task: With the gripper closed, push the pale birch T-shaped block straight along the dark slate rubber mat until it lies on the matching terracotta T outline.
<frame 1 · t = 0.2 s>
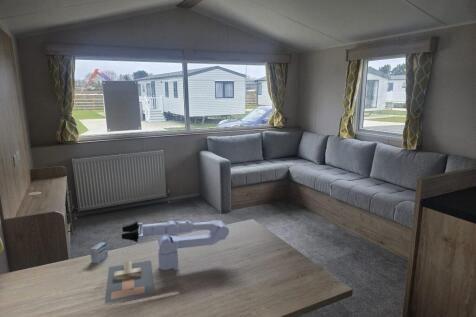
hand: (122, 232, 145), 21 cm above the table, fingers open, 7 cm apart
t block: (128, 272, 148), point 1 cm above the table, touching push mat
medicine box: (100, 261, 161), on the table
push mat: (130, 281, 143), on the table
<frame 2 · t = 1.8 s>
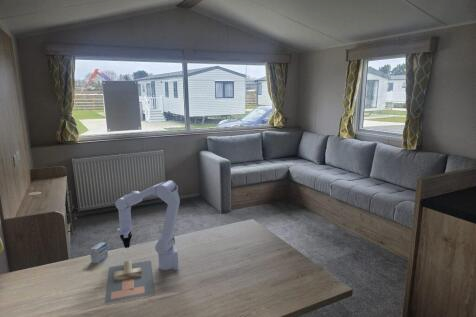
hand: (127, 245, 158), 9 cm above the table, fingers open, 5 cm apart
nothing on the table moved.
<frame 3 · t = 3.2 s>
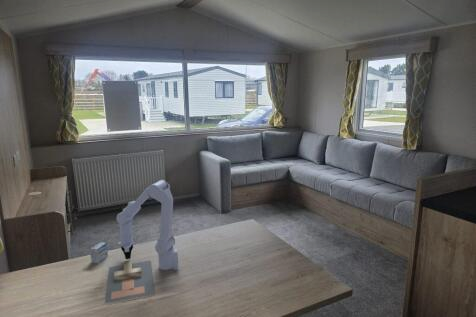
hand: (128, 258, 160), 2 cm above the table, fingers closed
nothing on the table moved.
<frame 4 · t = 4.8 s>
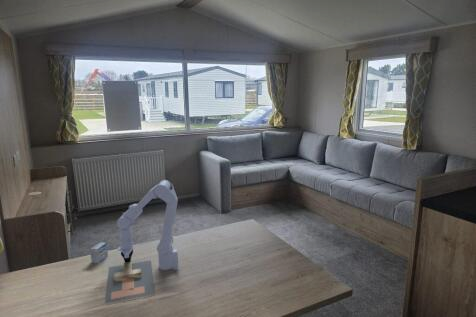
hand: (128, 264, 154), 2 cm above the table, fingers closed
t block: (128, 274, 147), point 1 cm above the table, touching gripper, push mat
everything else where it was.
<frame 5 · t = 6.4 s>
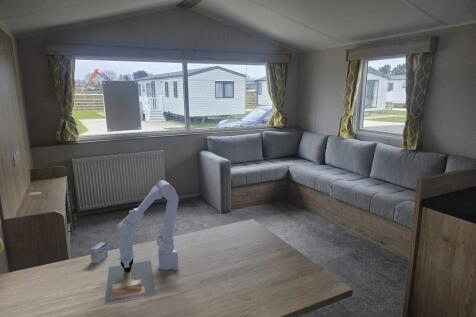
hand: (128, 273, 146), 2 cm above the table, fingers closed
t block: (127, 285, 139), point 1 cm above the table, touching gripper, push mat
everything else where it was.
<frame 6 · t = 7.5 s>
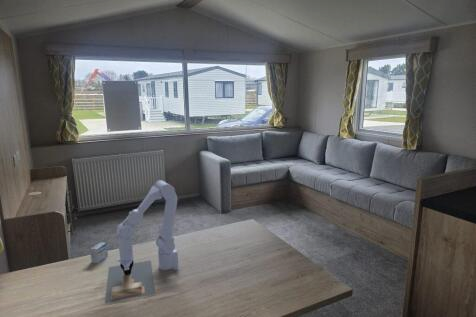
hand: (128, 276, 144), 2 cm above the table, fingers closed
t block: (127, 288, 137), point 1 cm above the table, touching gripper, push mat
everything else where it was.
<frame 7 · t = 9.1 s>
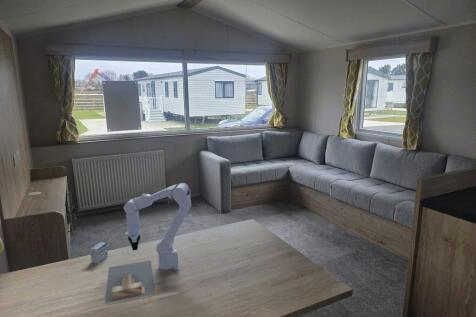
hand: (135, 249, 154), 9 cm above the table, fingers closed
t block: (127, 288, 137), point 1 cm above the table, touching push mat
everything else where it was.
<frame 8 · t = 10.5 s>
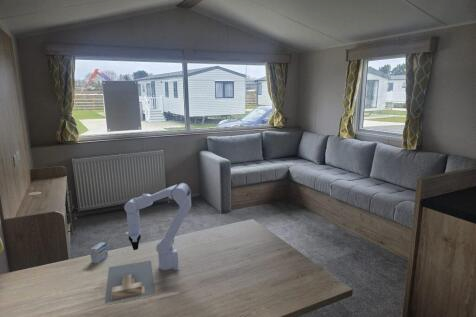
hand: (135, 249, 154), 9 cm above the table, fingers closed
nothing on the table moved.
at the end: t block 0.5 cm from the target spot, point 1.0 cm above the table; t block tilted 0° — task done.
